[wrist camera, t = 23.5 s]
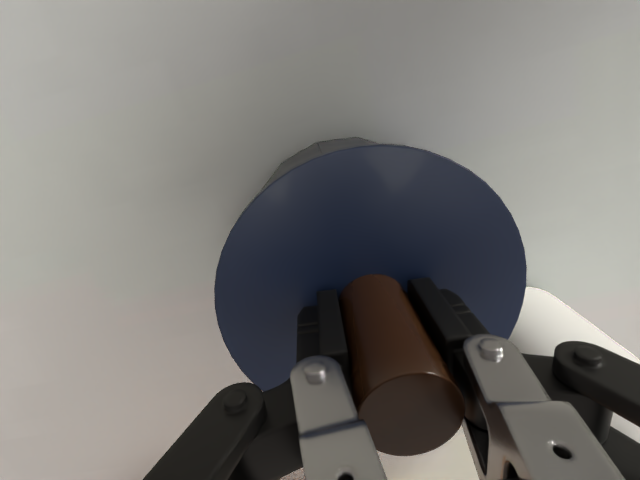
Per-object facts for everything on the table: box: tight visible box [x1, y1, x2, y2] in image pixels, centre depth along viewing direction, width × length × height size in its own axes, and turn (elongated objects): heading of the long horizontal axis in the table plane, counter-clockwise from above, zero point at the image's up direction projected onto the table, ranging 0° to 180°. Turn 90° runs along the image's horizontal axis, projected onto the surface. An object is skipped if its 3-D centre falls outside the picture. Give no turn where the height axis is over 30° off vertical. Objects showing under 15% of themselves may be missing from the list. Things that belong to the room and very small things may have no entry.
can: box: [508, 287, 640, 443], centre depth 18 cm, size 6×6×12 cm
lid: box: [214, 144, 527, 456], centre depth 11 cm, size 11×11×6 cm
